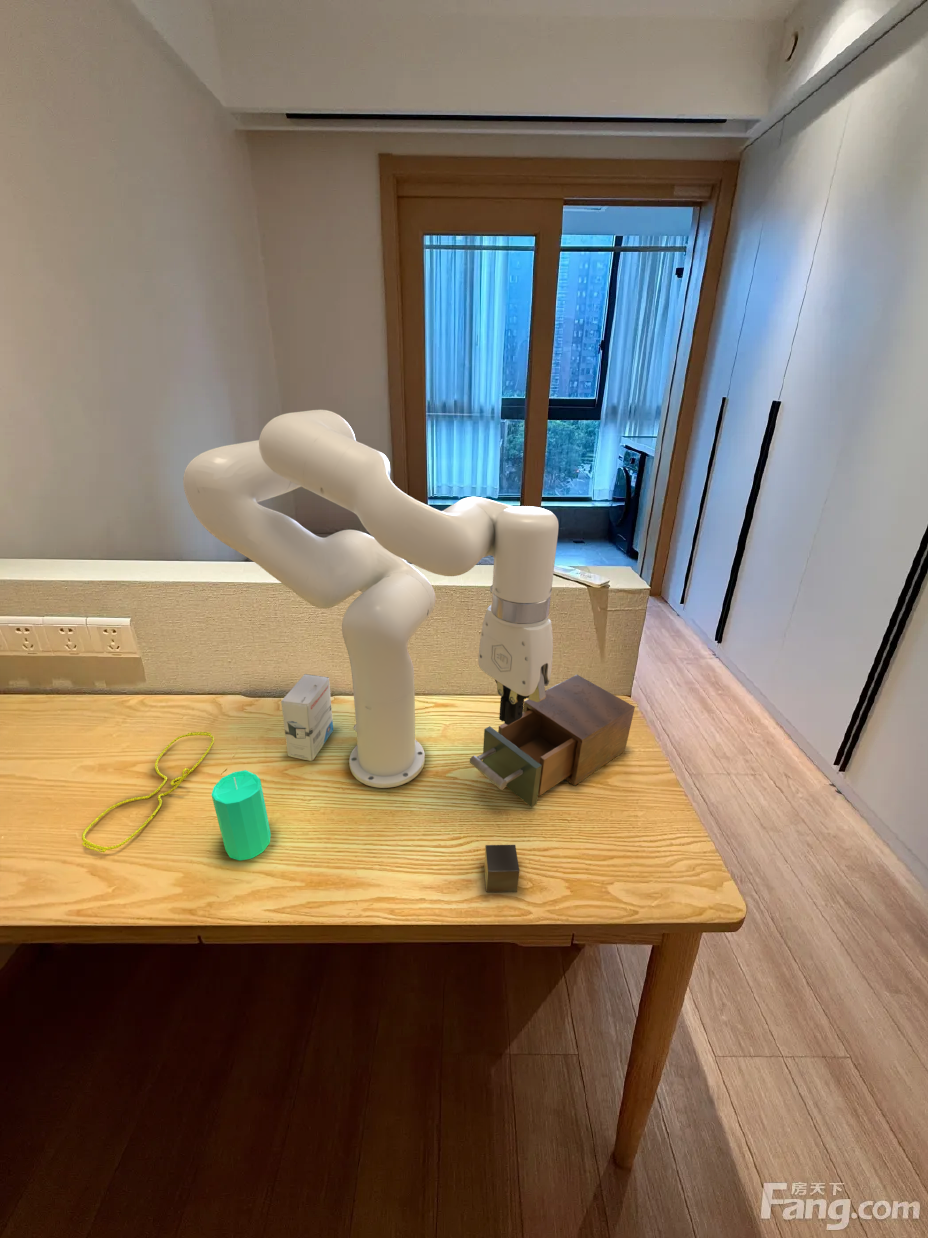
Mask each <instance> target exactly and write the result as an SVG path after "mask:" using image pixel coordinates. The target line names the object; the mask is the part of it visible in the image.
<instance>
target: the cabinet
mask: <svg viewBox="0 0 928 1238" xmlns="http://www.w3.org/2000/svg"><path fill="white" fill-rule="evenodd" d="M545 695H546V698H545V699H543V700H542V701H540V702H535V701H532V700H529V699H528V698H527V699H525V700H524V706H523V713H525V712H527V711H528V710H530V709H531V710H532V711H534V712H535V713H537V714H538V715H540V716H541V717H543V718H544V719H546V720H547V721H549V722H550V723H552V724H553V725H555V726H556V727H558V728H559V729H561V730H562V731H564V732H565V733H566V734H568V735H569V736H571V737H572V738H574V739H575V740H577V741H578V743H577V749H576V755H575V761H574V767H573V773H572V774H571V775H570V776H568V777H567V778H565V779H564V780H566V781H567V782H568V783H569V784H571V785H572V786H577V785H578V784H579V783H581V782H583V781H584V780H585V779H587V778H588V777H589V776H591V775H593V774H594V773H595V772H596V771H598V770H600V769H601V768H602V767H604V766H606V765H607V764H608V763H610V762H611V761H612V760H614V759H615V758H616V757H618V756H620V755H621V754H622V753H624V752H626V749H627V744H628V740H629V735H630V731H631V726H632V721H633V718H634V713H635V710H636V709H635V708H636V706H635V705H634V704H633V705H632V704H631V703H629V702H628V701H625V700H624V699H622V698H620V697H618V696H617V695H615V694H613V693H611V692H609V691H607V690H606V689H604V688H603V687H600V686H599V685H597V684H595V683H593V682H592V681H589V680H588V679H586V678H585V677H583V676H581V675H579V674H574V675H573V676H571V677H570V678H567V679H565V680H563V681H561V682H560V683H558V684H555V685H553V686H552V687H549V688H547V689H545Z"/></svg>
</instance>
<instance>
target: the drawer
mask: <svg viewBox="0 0 928 1238" xmlns="http://www.w3.org/2000/svg"><path fill="white" fill-rule="evenodd" d="M577 743H578V741H577V740H575V739H574V738H572V737H571V736H569V735H568V734H566V733H565V732H564V731H562V730H561V729H559V728H558V727H556V726H555V725H553V724H552V723H550V722H549V721H547V720H546V719H544V718H543V717H541V716H540V715H538V714H537V713H535V712H534V711H532V710H531V709H530V710H528V711H527V712H525V713H523V715H522V717H521V718H520V719H518V720H517V721H515V722H513V723H511V724H509V725H507V724H505V723H504V722H503V723H502V724H500V725H498V730H496V729H494V728H493V727H492V726H490V725H489V726H487V727H485V728H484V729H483V745H482V746H483V748H482V753H481V754H479V755H478V756H477V755H472V756H471V757H470V758H469V761H468V763H469V764H470V765H472V766H473V768H475V769H476V770H477V771H479V772H480V773H481V775H483V776H484V777H485V778H487V779H488V780H489V781H490V782H491V783H492V784H493V785H495V787H497V788H498V789H499V790H501V791H502V790H505V788H507V789H508V790H510V791H511V792H512V793H514V795H516V796H517V797H518V798H519V799H520V800H521V801H523V802H524V803H525V804H526V805H528V806H529V808H533V807H534V806H536V805H538V798H539V797H540V796H541V795H544V794H545V793H546V792H547V791H549V790H550V789H552V788H554V787H555V786H556V785H558V784H559V783H561V782H563V781H564V780H566V779H565V778H567V777H568V776H570V775H571V774H572V773H573V767H574V761H575V755H576V749H577Z"/></svg>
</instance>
